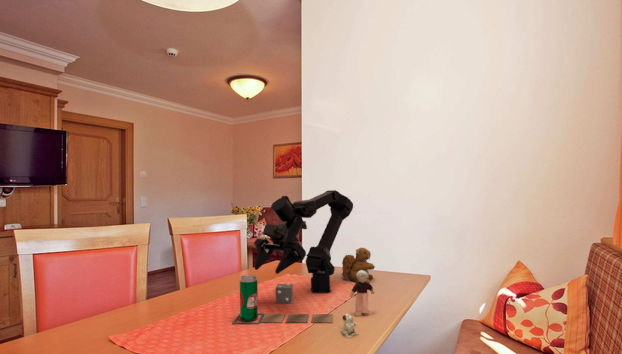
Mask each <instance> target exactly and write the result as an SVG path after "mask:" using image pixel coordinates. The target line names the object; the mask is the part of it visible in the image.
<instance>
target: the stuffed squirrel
mask: <svg viewBox="0 0 622 354" xmlns="http://www.w3.org/2000/svg"><path fill="white" fill-rule="evenodd" d="M371 256H372V255H371V251H370V250H369V249H367V248H366V247H359V248H357V249H355V255H352V254H346V255H344V257H343V258H342V263H341V265H342V268H341V270H342V273H341V275H342V277H343V279H345V280H346V281H353V282H355V283H358V282H359V280H358V278H357V276H356V274H357V272H358V271H360V270H363V271H365V272H366V273H367V274H368V277H367V279H366V281H365V282H367V283H369V284H370V283H371V281H370V280H372V279H374V276H373V275H372V274H370V273H369V271H371V270H374V269H375V265H374V263H370V262H368V260H371V259H370V258H371Z"/></svg>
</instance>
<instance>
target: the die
mask: <svg viewBox="0 0 622 354" xmlns="http://www.w3.org/2000/svg"><path fill="white" fill-rule="evenodd" d="M293 294H294V292H293V283H277V284H276V286H275V304H283V305H285V304H286V305H287V304H290V305H291V304H292V302H293V299H294V297H293V296H294V295H293Z"/></svg>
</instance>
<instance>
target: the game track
mask: <svg viewBox="0 0 622 354" xmlns="http://www.w3.org/2000/svg"><path fill="white" fill-rule="evenodd" d="M258 316H260V317H259V319H258V321H250V322H245V321H240V322H239V321H238V319H240V312H239V313H238V314H237V316H236V317H235V318H234V320H233V321H232V323H231V325H260V324H282V323H283V322H284V319H285V317H286V314H285V313H263V312H261V313H260V312H258ZM309 316H310V314H309V313H290V314H289V313H288V315H287V317H286V321H285V324H308V322H309ZM310 323H311V324H333V323H334V315H333V314H332V313H312V314H311V319H310Z"/></svg>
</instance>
